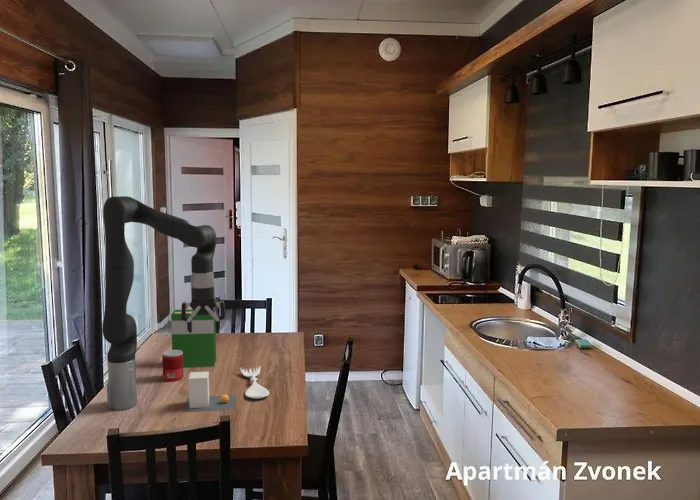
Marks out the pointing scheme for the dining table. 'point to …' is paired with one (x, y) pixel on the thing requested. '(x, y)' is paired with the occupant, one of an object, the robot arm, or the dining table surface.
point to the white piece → (254, 385)
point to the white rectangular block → (199, 389)
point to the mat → (215, 404)
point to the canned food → (172, 365)
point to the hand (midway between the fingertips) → (203, 331)
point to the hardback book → (194, 339)
